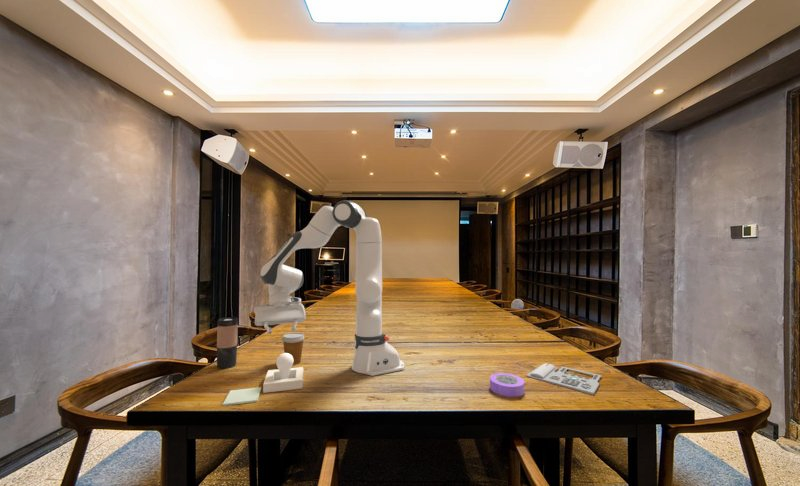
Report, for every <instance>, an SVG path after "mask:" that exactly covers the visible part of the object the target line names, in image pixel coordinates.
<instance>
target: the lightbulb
mask: <svg viewBox="0 0 800 486" xmlns="http://www.w3.org/2000/svg"><path fill="white" fill-rule="evenodd" d="M293 362H294V359H293V356H292V355H291V354H289V353H284V352H283V353H281V354H279V355H278V357H277V358H276V361H275V364H276V367H277V369H279V371H280V376H281V379H289V378H288V376H289V372H290V369H291V368H293V367H292V366H294V365H293Z"/></svg>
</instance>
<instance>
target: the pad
mask: <svg viewBox="0 0 800 486" xmlns="http://www.w3.org/2000/svg"><path fill="white" fill-rule="evenodd" d="M262 390H263V389H262V386H259V387H252V388H251V387H250V388H242V389H241V388H240V389H231V390H229V392H228V394H227V395H226V397H225V398H224V401H223V403H222V407H227V406H234V405H242V404H251V403H257V402H258V401H259V398H260V394H261V391H262Z"/></svg>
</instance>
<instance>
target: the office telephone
mask: <svg viewBox="0 0 800 486" xmlns="http://www.w3.org/2000/svg"><path fill="white" fill-rule="evenodd" d="M558 368H559V367H557V366H555V365H554V364H551V363H549V362H548V363H547V362H546V363H543V364H541V365H539V366H538V367H536V368H534V369H533V370H532V371H531V370H530V372H528V373H527V374H526V377H527V378H530V377H531V379H534V380H537V381H541V382H544V383H547V384H548V383H549V384H553V385H557V386H559V387H563V388H567V389H571V390H574V391H578V392H581V393H584V394H588V395H592V396H594V395H595V394H596V392H597V390H598V389H599V386H600V383H599V382H600V380H601V379H602V378H603V376H602V375H600V374H597V373H592V372H587V371H584V370H579V369H576V368H569V367H566V366H561V368H559V370H557V369H558ZM556 370H557V371H556ZM567 370H569V371H567ZM555 371H556V372H555ZM572 371H574V372H573V373H576V372H578V373H577V374H580V373H583V374H582V375H584V374H586V375H585V376H589V375H590V377H591V378H589V377H585V376H584V377H583V376H581V375H576V374H572V373H568V372H572ZM592 376H593V377H592ZM600 378H601V379H600ZM598 381H599V382H598Z"/></svg>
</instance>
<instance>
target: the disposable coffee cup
mask: <svg viewBox="0 0 800 486" xmlns="http://www.w3.org/2000/svg"><path fill="white" fill-rule="evenodd" d="M305 338H306V337H305V334H304V333H302V332H289V333H288V332H287V333H286V334H284V335H282V338H281V340H282V343H283V353H289V354H291V355H292V356H293V359H294V362H293V365H292V366H294V365H297V364H300V363H301V361H302V360H301V359H302V354H303V348H304V347H303V345H304V340H305Z"/></svg>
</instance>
